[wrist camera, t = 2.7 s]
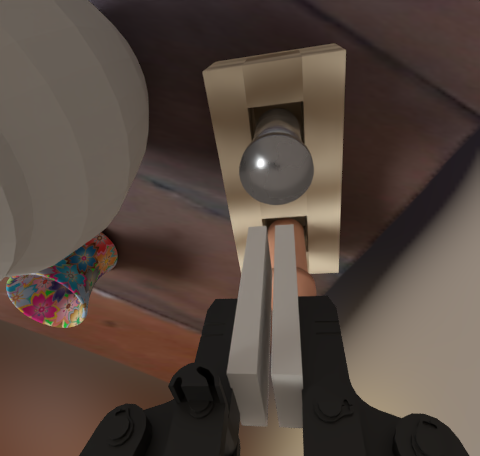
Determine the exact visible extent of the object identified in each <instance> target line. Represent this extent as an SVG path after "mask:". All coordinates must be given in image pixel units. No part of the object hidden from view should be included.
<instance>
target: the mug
mask: <svg viewBox="0 0 480 456" xmlns="http://www.w3.org/2000/svg"><path fill="white" fill-rule="evenodd" d="M117 260H118V254H117V250H116V248H115V246H114V244H113V243H112V241H111V240H110V239H109V238H108V237H107V236H106V235H104V234H103V233H101V232H100V233H99V234H98V235H96V236H95V237H94V238H93V239H91V240H90V241H88V242H87V243H85V244H84V245H83V246H81V247H80V248H78V249H77V250H75V251H74V252H72V253H71V254H70V255H68V256H67V257H65V258H64V259H62V260H61V261H59V262H58V263H57V264H55V265H54V266H51V267H49V268H46V269H44V270H41V271H39V272H36V273H31V274H25V275H18V276H9V277H10V278H9V280H8V282H7V285H6V290H7V294H8V296H9V298H10V300H11V301H12V303H13V304H14V305H15V306H16V307H17V308H18V309H19V310H20V311H21V312H22V313H24V314H25V315H27V316H28V317H30V318H32V319H33V320H35V321H38V322H40V323H42V324H45V325H49V326H53V327H60V328H67V327H73V326H76V325H78V324H80V323H81V322H83V321H84V319H85V318H86V315H87V308H88V301H89V297H90V294H91V291H92V289H93V287H94V285H95V283H96V282H97V280H98V279H99V278H100V277H101V276H102V275H103V274H104V273H106V272H108V271H110V270H111V269H113V268H114V267H115V265H116V263H117Z"/></svg>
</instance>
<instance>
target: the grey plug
mask: <svg viewBox="0 0 480 456" xmlns="http://www.w3.org/2000/svg"><path fill="white" fill-rule="evenodd" d="M313 175H314V165H313V160H312V156H311V153H310V151H309V149H308V148H307V146H306V145H305V144H304V143H303V142H302V141H301V135H300V128H299V123H298V120H297V118H296V117H295V116H294V114H293V113H291V112H290V111H288V110H286V109H283V108H274V109H270V110H268V111H266V112H265V113H264V114H262V116H261V117H260V118H259V120H258V122H257V124H256V129H255V134H254V138H253V141H252V142H251V143H250V144H249V145H248V146H247V148H246V149H245V151H244V153H243V155H242V158H241V162H240V167H239V176H240V181H241V183H242V185H243V187H244V189H245V190H246V192H247V193H248V194H249V195H250V196H251V197H253V198H254V199H256V200H257V201H259V202H262V203H265V204H269V205H283V204H287V203H290V202H293V201H295V200H297V199H298V198H300V197H301V196H302V195H303V194H304V193H305V192H306V191H307V189H308V188H309V186H310V185H311V182H312V180H313Z"/></svg>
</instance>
